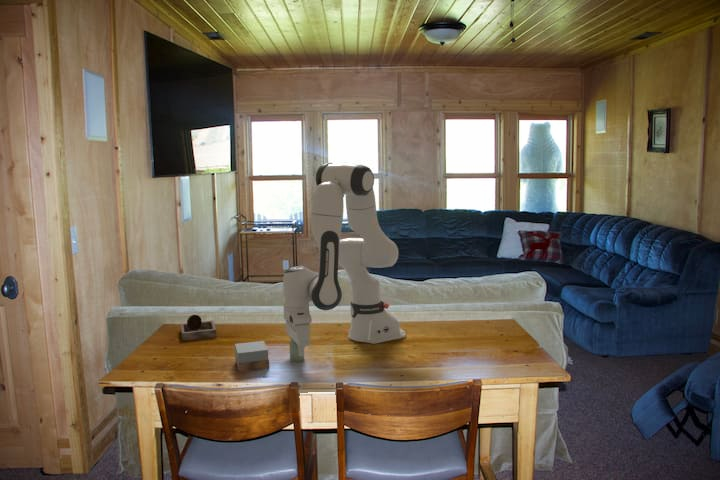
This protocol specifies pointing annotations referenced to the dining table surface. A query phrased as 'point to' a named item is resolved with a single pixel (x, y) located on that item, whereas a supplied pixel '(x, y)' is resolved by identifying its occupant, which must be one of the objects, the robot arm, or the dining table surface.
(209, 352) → the dining table surface
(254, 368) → the walnut slab
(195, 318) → the compass
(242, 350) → the grey slab
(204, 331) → the wooden frame
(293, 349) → the sage green rounded oval
